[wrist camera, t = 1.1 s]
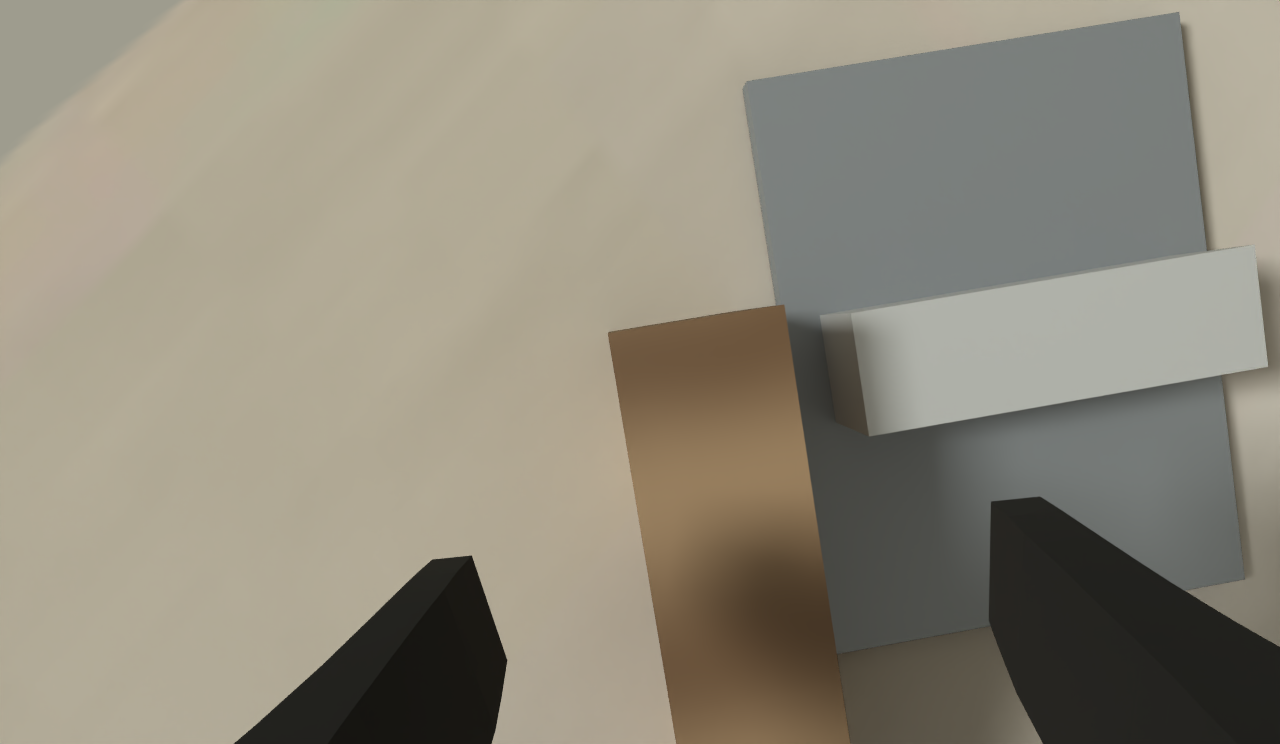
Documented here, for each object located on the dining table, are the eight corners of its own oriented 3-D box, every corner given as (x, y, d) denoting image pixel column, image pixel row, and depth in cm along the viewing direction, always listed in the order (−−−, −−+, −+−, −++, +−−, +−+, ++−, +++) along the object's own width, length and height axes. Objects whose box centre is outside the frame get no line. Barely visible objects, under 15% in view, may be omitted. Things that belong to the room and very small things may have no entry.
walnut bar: (806, 779, 22) (881, 952, 16) (687, 800, 21) (716, 983, 15) (734, 311, 21) (784, 304, 15) (608, 331, 21) (608, 333, 15)
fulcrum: (1227, 572, 21) (1335, 615, 18) (829, 645, 21) (867, 701, 18) (1162, 21, 20) (1264, -36, 17) (742, 88, 20) (767, 43, 17)
